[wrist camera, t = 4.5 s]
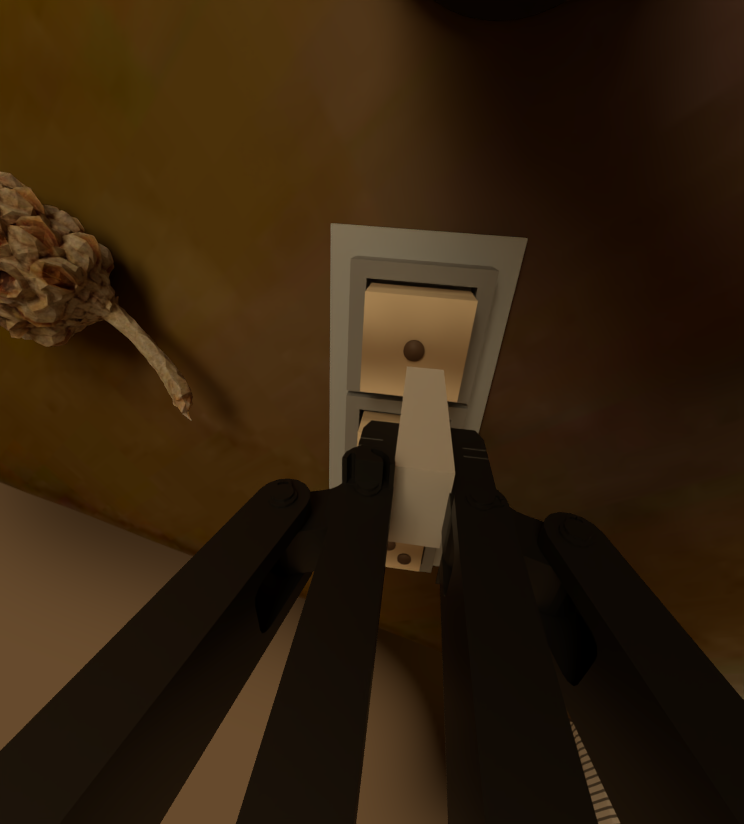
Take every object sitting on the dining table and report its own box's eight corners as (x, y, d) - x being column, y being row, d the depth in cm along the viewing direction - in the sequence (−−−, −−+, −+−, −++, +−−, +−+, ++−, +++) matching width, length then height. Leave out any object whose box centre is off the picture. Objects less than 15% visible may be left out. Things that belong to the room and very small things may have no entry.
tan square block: (371, 282, 21) (364, 291, 19) (470, 291, 21) (478, 301, 18) (366, 373, 24) (359, 392, 21) (453, 382, 24) (457, 403, 21)
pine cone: (-40, 239, 26) (-264, 247, 18) (-26, 107, 22) (-313, 34, 13) (215, 410, 31) (135, 483, 22) (266, 328, 27) (193, 379, 18)
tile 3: (361, 489, 31) (355, 515, 29) (427, 498, 31) (428, 525, 28) (358, 535, 34) (352, 563, 32) (419, 544, 34) (418, 573, 31)
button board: (334, 223, 23) (322, 223, 20) (522, 237, 22) (538, 239, 19) (331, 540, 37) (323, 568, 34) (444, 557, 36) (446, 586, 33)
